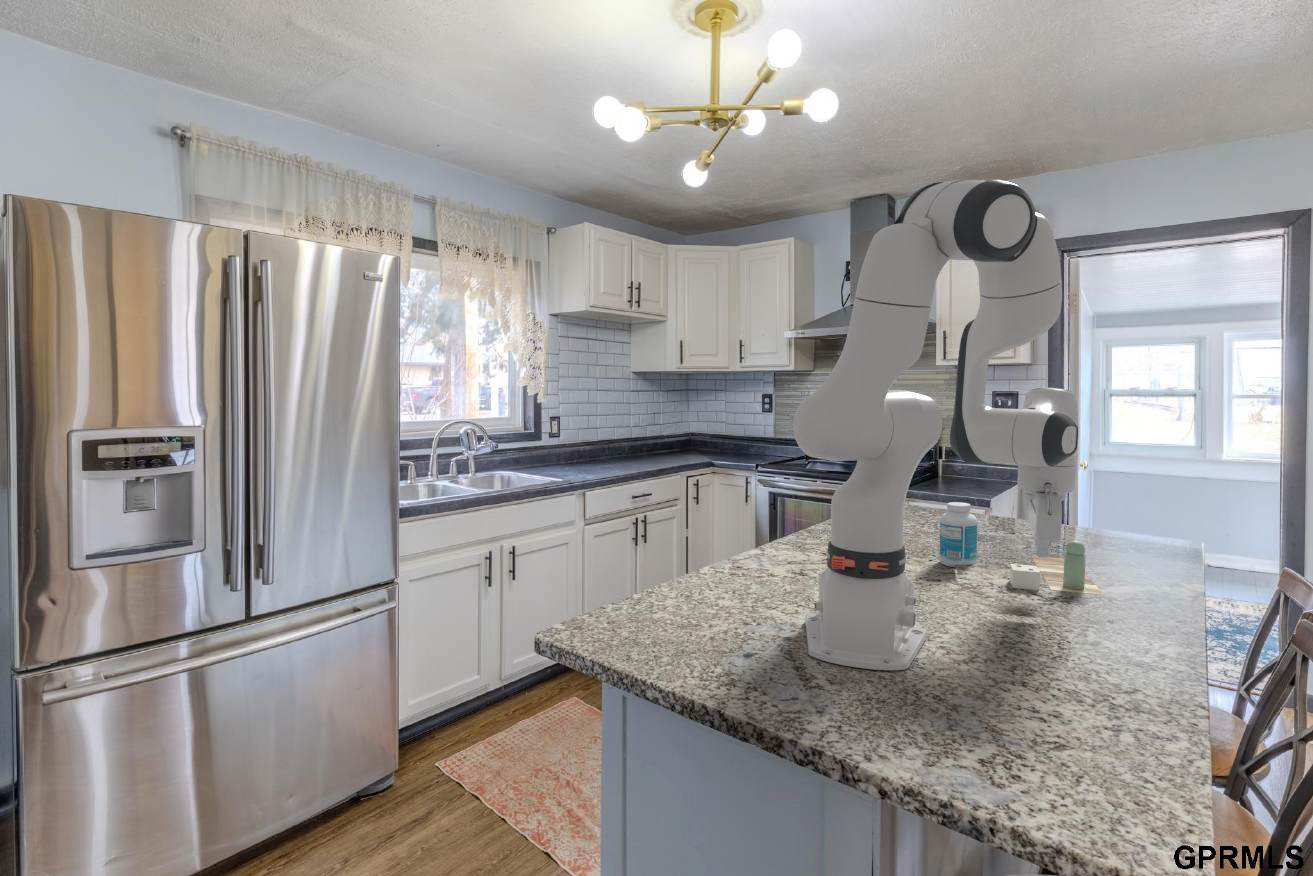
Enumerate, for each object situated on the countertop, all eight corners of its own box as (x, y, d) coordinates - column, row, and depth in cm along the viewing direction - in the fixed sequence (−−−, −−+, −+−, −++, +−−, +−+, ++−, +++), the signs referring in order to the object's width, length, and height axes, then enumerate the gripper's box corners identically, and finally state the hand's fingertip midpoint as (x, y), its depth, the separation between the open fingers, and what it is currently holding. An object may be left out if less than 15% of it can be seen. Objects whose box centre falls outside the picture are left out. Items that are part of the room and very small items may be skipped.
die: (1039, 595, 124) (1040, 571, 124) (1012, 593, 126) (1013, 569, 125) (1035, 588, 128) (1036, 565, 128) (1009, 586, 130) (1010, 563, 129)
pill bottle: (968, 560, 148) (970, 500, 147) (981, 569, 141) (984, 507, 140) (934, 559, 149) (936, 500, 148) (945, 568, 142) (947, 506, 140)
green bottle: (1086, 590, 123) (1088, 543, 122) (1065, 588, 124) (1067, 542, 124) (1082, 585, 126) (1084, 539, 126) (1061, 583, 128) (1063, 538, 127)
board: (1105, 600, 121) (1105, 595, 121) (1049, 594, 124) (1049, 589, 124) (1075, 563, 145) (1075, 559, 145) (1028, 559, 148) (1028, 555, 148)
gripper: (1074, 490, 107) (1068, 573, 108) (1060, 472, 125) (1055, 543, 126) (1029, 487, 109) (1025, 568, 111) (1022, 470, 128) (1018, 540, 129)
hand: (1041, 555), depth 119 cm, fingers closed
